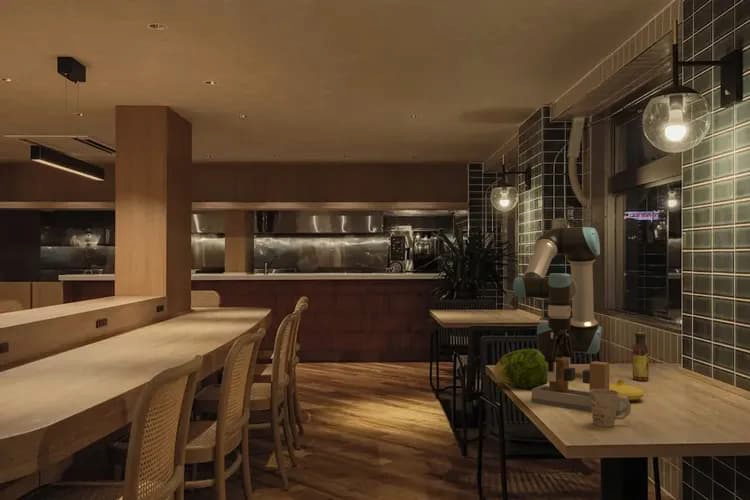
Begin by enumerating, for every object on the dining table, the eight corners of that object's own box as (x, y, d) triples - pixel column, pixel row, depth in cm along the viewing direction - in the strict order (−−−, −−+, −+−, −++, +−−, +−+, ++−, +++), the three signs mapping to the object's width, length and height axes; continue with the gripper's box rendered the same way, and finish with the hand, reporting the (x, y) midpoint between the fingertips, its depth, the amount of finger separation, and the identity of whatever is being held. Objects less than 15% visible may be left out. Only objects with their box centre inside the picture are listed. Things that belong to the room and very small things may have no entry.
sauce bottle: (650, 382, 263) (650, 333, 264) (634, 381, 265) (634, 333, 265) (646, 379, 270) (647, 332, 270) (631, 378, 271) (631, 331, 271)
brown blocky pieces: (531, 402, 223) (531, 357, 224) (542, 397, 231) (542, 354, 232) (619, 415, 205) (619, 367, 206) (628, 410, 213) (628, 363, 214)
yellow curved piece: (622, 406, 220) (622, 385, 220) (588, 397, 234) (588, 377, 234) (654, 401, 227) (654, 381, 227) (618, 393, 241) (618, 374, 241)
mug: (584, 421, 198) (584, 388, 198) (623, 420, 199) (623, 388, 199) (596, 428, 190) (596, 394, 190) (636, 427, 191) (637, 394, 191)
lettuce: (499, 388, 260) (487, 353, 259) (549, 373, 257) (538, 338, 256) (502, 402, 244) (490, 366, 243) (556, 387, 242) (544, 350, 240)
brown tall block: (549, 398, 222) (549, 358, 222) (554, 396, 226) (554, 357, 226) (570, 402, 218) (570, 360, 218) (575, 399, 222) (575, 359, 222)
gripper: (556, 320, 211) (556, 385, 210) (582, 315, 231) (581, 374, 230) (534, 319, 215) (534, 382, 215) (561, 314, 235) (561, 372, 235)
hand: (558, 378), depth 223 cm, fingers open, 13 cm apart
